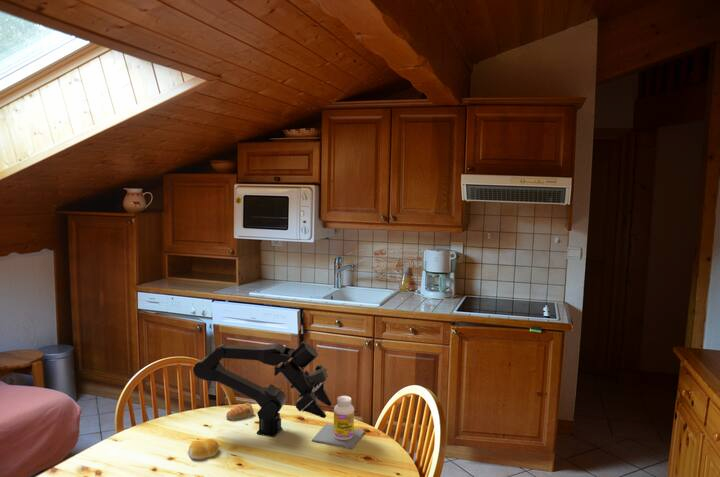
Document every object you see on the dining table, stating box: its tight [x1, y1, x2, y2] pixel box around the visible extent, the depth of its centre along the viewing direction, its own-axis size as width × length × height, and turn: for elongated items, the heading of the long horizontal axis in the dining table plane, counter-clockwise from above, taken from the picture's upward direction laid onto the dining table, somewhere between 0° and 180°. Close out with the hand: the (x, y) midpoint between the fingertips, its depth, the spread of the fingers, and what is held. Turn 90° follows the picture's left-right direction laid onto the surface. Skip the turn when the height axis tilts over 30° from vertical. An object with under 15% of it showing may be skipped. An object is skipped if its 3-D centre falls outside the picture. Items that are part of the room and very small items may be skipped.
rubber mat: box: [311, 423, 366, 450], centre depth 171 cm, size 14×12×1 cm
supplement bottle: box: [333, 395, 355, 440], centre depth 170 cm, size 7×7×13 cm
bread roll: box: [187, 438, 220, 460], centre depth 160 cm, size 8×9×4 cm
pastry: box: [225, 402, 255, 421], centre depth 185 cm, size 9×7×4 cm
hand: (328, 411), depth 170 cm, fingers open, 9 cm apart
